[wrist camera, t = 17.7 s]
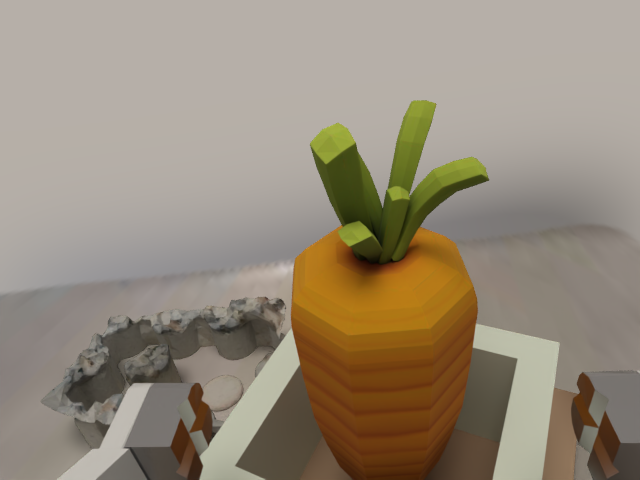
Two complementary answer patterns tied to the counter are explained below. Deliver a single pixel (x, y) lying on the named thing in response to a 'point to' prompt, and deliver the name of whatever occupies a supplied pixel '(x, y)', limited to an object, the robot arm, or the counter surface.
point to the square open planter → (475, 417)
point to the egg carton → (163, 358)
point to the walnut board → (476, 452)
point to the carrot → (385, 309)
